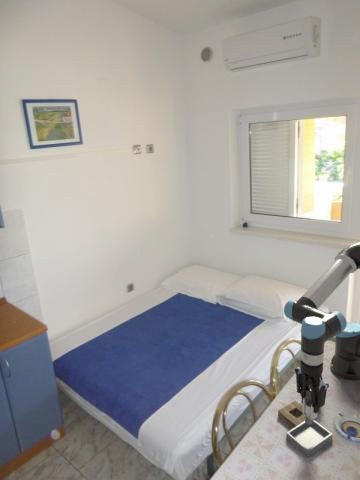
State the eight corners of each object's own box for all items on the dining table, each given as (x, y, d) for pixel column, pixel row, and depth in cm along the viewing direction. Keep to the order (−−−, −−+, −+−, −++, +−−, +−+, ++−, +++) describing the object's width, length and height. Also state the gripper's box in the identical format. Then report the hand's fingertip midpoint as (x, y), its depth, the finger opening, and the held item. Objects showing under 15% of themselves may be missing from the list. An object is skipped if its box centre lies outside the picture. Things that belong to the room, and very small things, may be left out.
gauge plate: (295, 405, 157) (295, 400, 156) (314, 419, 148) (314, 414, 148) (278, 415, 152) (278, 410, 151) (297, 431, 144) (297, 426, 143)
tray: (310, 422, 147) (310, 417, 146) (332, 439, 139) (332, 434, 138) (286, 438, 141) (286, 432, 140) (307, 456, 132) (308, 451, 132)
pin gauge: (308, 417, 139) (309, 386, 135) (315, 422, 137) (316, 390, 133) (303, 421, 138) (304, 389, 134) (309, 426, 135) (310, 394, 131)
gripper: (286, 353, 135) (286, 406, 141) (323, 376, 121) (321, 434, 128) (301, 346, 138) (299, 398, 145) (338, 367, 125) (335, 424, 132)
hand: (309, 415), depth 136 cm, fingers closed on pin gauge, 3 cm apart
